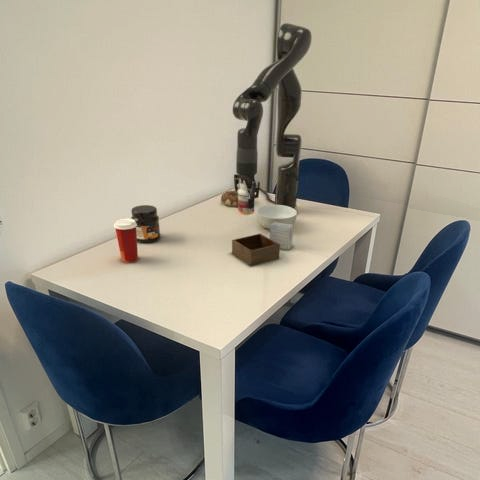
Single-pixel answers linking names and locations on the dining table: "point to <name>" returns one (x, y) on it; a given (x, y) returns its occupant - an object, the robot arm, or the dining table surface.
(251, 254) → the crate
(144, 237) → the supplement container
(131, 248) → the paper cup
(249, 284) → the dining table surface
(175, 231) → the dining table surface
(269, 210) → the cereal bowl
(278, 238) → the medicine box
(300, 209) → the dining table surface
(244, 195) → the pill bottle
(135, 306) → the dining table surface
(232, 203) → the donut
